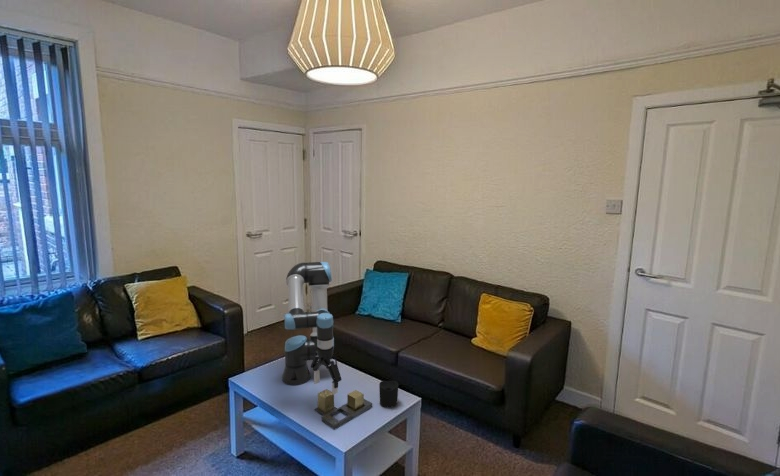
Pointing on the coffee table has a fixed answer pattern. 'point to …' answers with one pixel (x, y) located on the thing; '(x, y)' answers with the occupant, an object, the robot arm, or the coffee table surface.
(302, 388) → the coffee table surface
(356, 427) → the coffee table surface
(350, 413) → the rail
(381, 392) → the pen holder
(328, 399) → the tan textured cube
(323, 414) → the rubber pad
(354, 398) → the block
